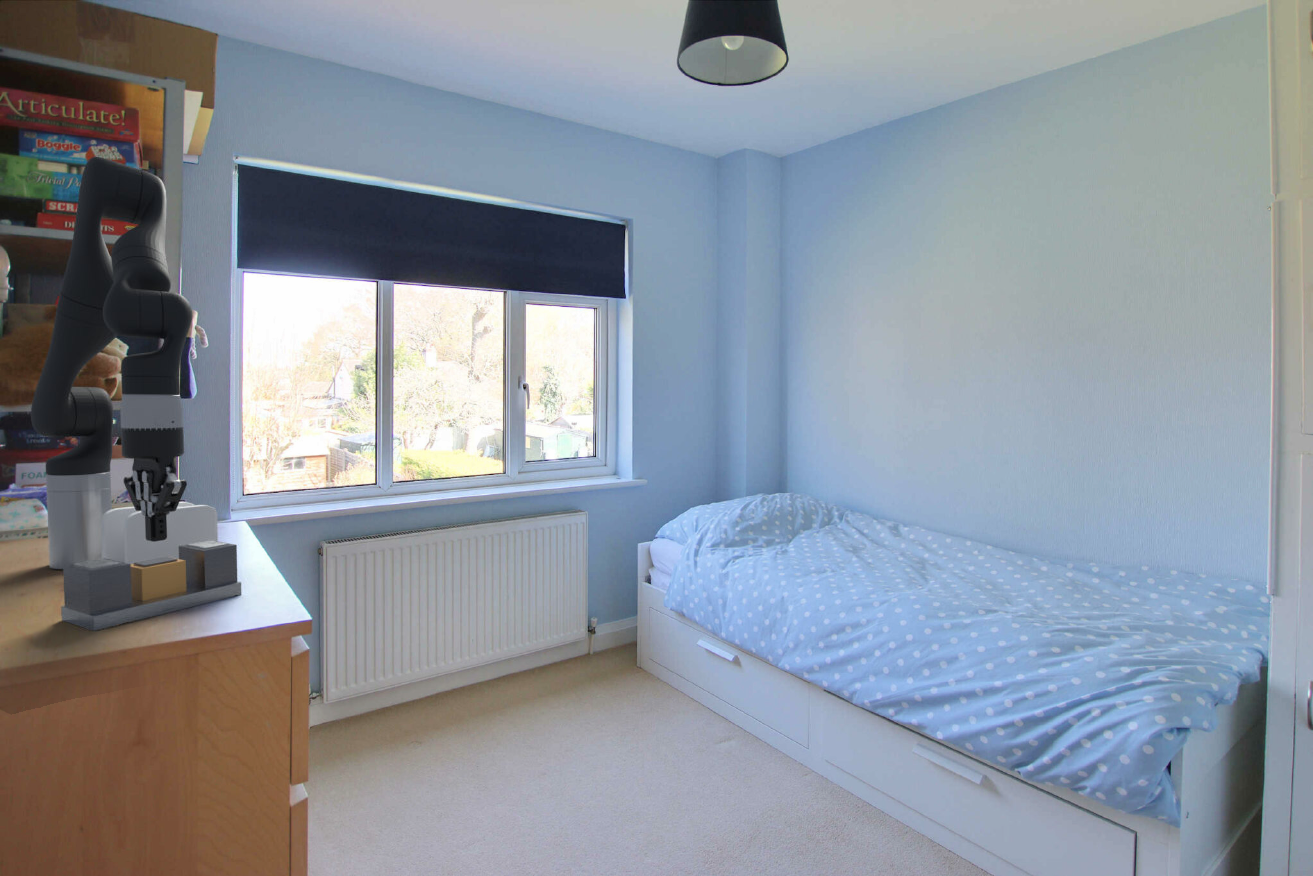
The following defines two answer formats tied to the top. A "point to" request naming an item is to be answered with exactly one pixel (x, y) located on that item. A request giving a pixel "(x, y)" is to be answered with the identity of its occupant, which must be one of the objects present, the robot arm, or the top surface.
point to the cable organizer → (130, 544)
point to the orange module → (157, 578)
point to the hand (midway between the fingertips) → (156, 540)
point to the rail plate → (106, 599)
